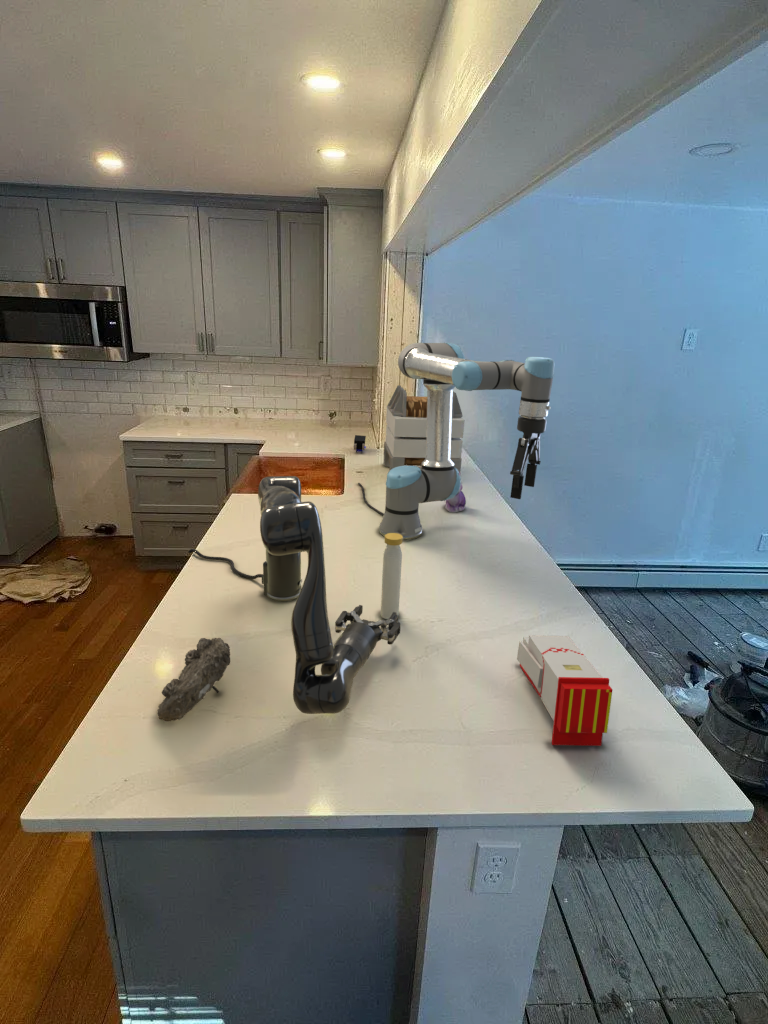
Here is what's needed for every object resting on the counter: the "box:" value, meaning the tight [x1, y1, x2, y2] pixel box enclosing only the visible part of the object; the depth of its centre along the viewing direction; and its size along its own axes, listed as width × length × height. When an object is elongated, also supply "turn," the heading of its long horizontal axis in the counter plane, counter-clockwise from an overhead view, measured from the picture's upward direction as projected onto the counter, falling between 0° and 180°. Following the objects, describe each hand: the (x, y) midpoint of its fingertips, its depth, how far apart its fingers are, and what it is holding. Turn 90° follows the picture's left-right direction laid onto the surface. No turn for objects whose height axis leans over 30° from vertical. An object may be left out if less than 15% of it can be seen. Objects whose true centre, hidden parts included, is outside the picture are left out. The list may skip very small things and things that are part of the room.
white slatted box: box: [383, 384, 465, 472], centre depth 268 cm, size 34×33×41 cm
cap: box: [383, 533, 404, 546], centre depth 140 cm, size 4×4×2 cm
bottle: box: [380, 544, 403, 620], centre depth 143 cm, size 5×5×22 cm
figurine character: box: [353, 434, 367, 454], centre depth 311 cm, size 7×8×15 cm
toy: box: [516, 634, 613, 747], centre depth 116 cm, size 12×13×30 cm
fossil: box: [157, 637, 231, 723], centre depth 113 cm, size 22×10×15 cm
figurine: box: [444, 471, 467, 513], centre depth 225 cm, size 9×10×15 cm
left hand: (377, 611), depth 135 cm, fingers open, 8 cm apart
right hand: (522, 492), depth 160 cm, fingers open, 13 cm apart
